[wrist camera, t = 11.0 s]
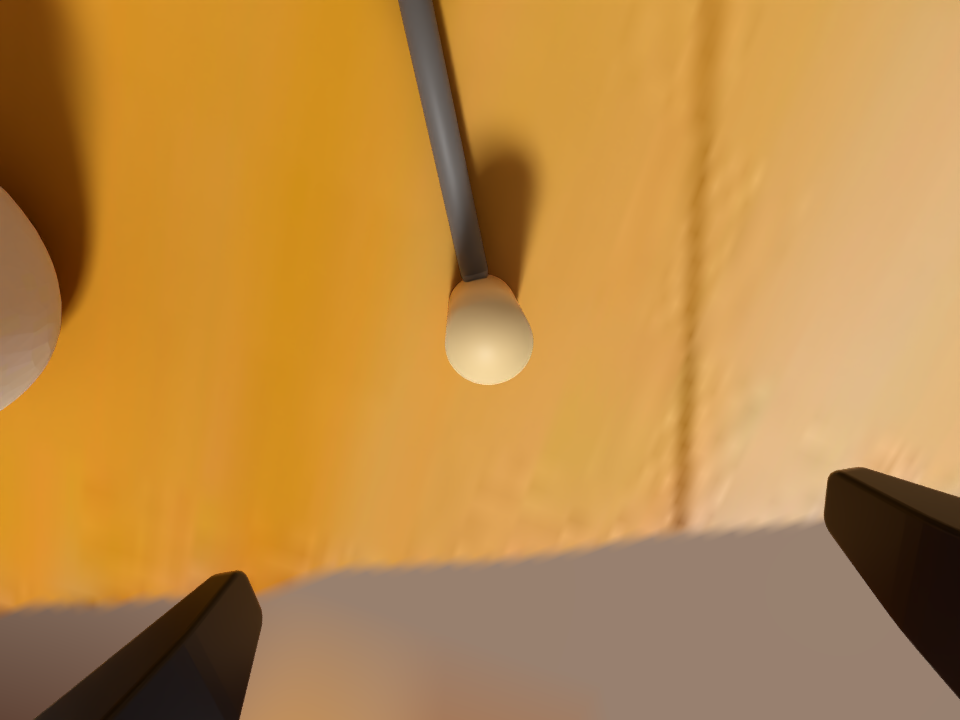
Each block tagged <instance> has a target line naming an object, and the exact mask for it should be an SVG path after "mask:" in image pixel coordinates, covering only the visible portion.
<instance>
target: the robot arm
mask: <svg viewBox="0 0 960 720" xmlns="http://www.w3.org/2000/svg"><path fill="white" fill-rule="evenodd" d="M824 520H825V524H826V527H827V529H828V531H829V532H830V534H831V535H832V537H833V538H834V539H835V541H836V542H837V543H838V545H839V546H840V548H841V549H842V550H843V552H844V553H845V554H846V556H847V557H848V559H849V560H850V561H851V563H852V564H853V565H854V567H855V568H856V570H857V571H858V572H859V574H860V575H861V576H862V578H863V579H864V581H865V582H866V584H867V585H868V586H869V588H870V589H871V590H872V592H873V593H874V595H875V596H876V597H877V599H878V600H879V602H880V603H881V604H882V605H883V607H884V608H885V610H886V611H887V612H888V614H889V615H890V617H891V618H892V619H893V620H894V622H895V623H896V624H897V626H898V627H899V628H900V629H901V631H902V632H903V633H904V634H905V636H906V637H907V638H908V639H909V641H910V642H911V643H912V644H913V645H914V647H915V648H916V649H917V650H918V651H919V653H920V654H921V655H922V656H923V657H924V658H925V659H926V660H927V662H928V663H929V664H930V665H931V666H932V668H933V669H934V670H935V671H936V672H937V673H938V675H939V676H940V677H941V678H942V679H943V680H944V682H945V683H946V684H947V685H948V686H949V687H950V689H951V690H952V691H953V692H954V693H955V694H956V696H957V697H958V698H959V699H960V497H957V496H954V495H950V494H947V493H944V492H941V491H938V490H934V489H931V488H928V487H925V486H922V485H918V484H915V483H912V482H909V481H906V480H902V479H899V478H896V477H893V476H890V475H886V474H883V473H880V472H877V471H874V470H870V469H867V468H863V467H854V468H848V469H842V470H836V471H834V472H832V473H831V474H830V475H829V477H828V480H827V489H826V498H825V507H824ZM261 627H262V610H261V607H260V605H259V602H258V600H257V598H256V596H255V593H254V591H253V589H252V586H251V584H250V582H249V580H248V577H247V576H246V574H245V573H244V572H242V571H231V572H225V573H219V574H215V575H213V576H211V577H210V578H209V579H207V580H206V581H205V582H204V583H202V584H201V585H200V586H199V587H197V588H196V589H195V590H194V591H192V592H191V593H190V594H189V595H187V596H186V597H185V598H184V599H183V600H181V601H180V602H179V603H178V604H176V605H175V606H174V607H173V608H171V609H170V610H169V611H168V612H166V613H165V614H164V615H163V616H161V617H160V618H159V619H158V620H156V621H155V622H154V623H153V624H151V625H150V626H149V627H148V628H146V629H145V630H144V631H143V632H141V633H140V634H139V635H138V636H137V637H135V638H134V639H133V640H132V641H131V642H129V643H128V644H127V645H125V646H124V647H123V648H122V649H120V650H119V651H118V652H117V653H115V654H114V655H113V656H112V657H111V658H109V659H108V660H107V661H105V662H104V663H103V664H102V665H100V667H98V668H97V669H95V670H94V671H93V672H92V673H91V674H89V675H88V676H87V677H86V678H84V679H83V680H82V681H81V682H80V683H78V684H77V685H76V686H74V687H73V688H72V689H71V690H69V691H68V692H67V693H66V694H64V695H63V696H62V697H61V698H59V699H58V700H57V701H56V702H54V703H53V704H52V705H51V706H50V707H48V708H47V709H46V710H45V711H43V712H42V713H41V714H40V715H38V716H37V717H36V718H35V719H34V720H239V719H240V715H241V710H242V707H243V702H244V698H245V694H246V690H247V686H248V681H249V677H250V673H251V669H252V665H253V661H254V656H255V652H256V648H257V644H258V640H259V635H260V631H261Z"/></svg>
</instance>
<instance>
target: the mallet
mask: <svg viewBox="0 0 960 720" xmlns="http://www.w3.org/2000/svg"><path fill="white" fill-rule="evenodd" d="M398 2H399V6H400V11H401V15H402V20H403V24H404V28H405V33H406V37H407V41H408V46H409V50H410V55H411V59H412V63H413V68H414V72H415V77H416V81H417V85H418V90H419V94H420V98H421V103H422V107H423V112H424V116H425V120H426V125H427V129H428V133H429V138H430V142H431V147H432V151H433V155H434V160H435V164H436V169H437V173H438V177H439V182H440V186H441V190H442V195H443V199H444V204H445V208H446V212H447V217H448V221H449V225H450V230H451V234H452V239H453V243H454V247H455V252H456V256H457V260H458V265H459V269H460V274H461V277H462V279H463V280H462V281H461V282H459V283H458V284H457V286H456V287H455V288H454V289H453V291H452V293H451V296H450V298H449V304H448V315H447V326H446V338H445V349H446V354H447V357H448V360H449V362H450V364H451V365H452V367H453V368H454V369H455V370H456V372H457V373H459V374H460V375H461V376H462V377H464V378H465V379H467V380H469V381H471V382H474V383H478V384H484V385H493V384H499V383H503V382H505V381H508V380H510V379H511V378H513V377H515V376H516V375H517V374H518V373H520V372H521V371H522V370H523V368H524V367H525V366H526V364H527V363H528V361H529V359H530V357H531V353H532V349H533V334H532V330H531V328H530V325H529V323H528V321H527V319H526V317H525V315H524V313H523V311H522V309H521V308H520V306H519V304H518V302H517V300H516V298H515V296H514V294H513V292H512V290H511V289H510V287H509V286H508V285H507V284H506V283H505V282H504V281H503V280H501V279H500V278H498V277H496V276H493V275H489V274H488V267H487V262H486V258H485V253H484V248H483V243H482V238H481V234H480V229H479V224H478V219H477V214H476V209H475V205H474V200H473V195H472V190H471V185H470V180H469V176H468V171H467V166H466V161H465V156H464V151H463V147H462V142H461V137H460V132H459V127H458V122H457V118H456V113H455V108H454V103H453V98H452V94H451V89H450V84H449V79H448V74H447V69H446V65H445V60H444V55H443V50H442V45H441V40H440V36H439V31H438V26H437V21H436V16H435V11H434V7H433V2H432V0H398Z"/></svg>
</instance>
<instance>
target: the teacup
mask: <svg viewBox="0 0 960 720" xmlns="http://www.w3.org/2000/svg"><path fill="white" fill-rule="evenodd" d="M61 311H62V302H61V295H60V289H59V283H58V278H57V275H56V272H55V269H54V266H53V263H52V261H51V258H50V256H49V254H48V251H47V249H46V247H45V245H44V243H43V242H42V240H41V238H40V236H39V234H38V232H37V231H36V229H35V228H34V226H33V225H32V223H31V222H30V221H29V219H28V218H27V216H26V215H25V214H24V212H23V211H22V210H21V208H20V207H19V206H18V205H17V204H16V202H15V201H14V200H13V199H12V198H11V197H10V195H9V194H8V193H7V192H6V191H5V190H4V189H3V188H2V187H1V186H0V411H1V410H2V409H4V408H5V407H6V406H8V405H9V404H10V403H12V402H13V401H14V400H16V399H17V398H18V397H19V396H20V395H21V394H23V393H24V392H25V391H26V390H27V389H28V388H29V387H30V386H31V385H32V383H33V382H34V381H35V380H36V379H37V378H38V376H39V375H40V374H41V373H42V371H43V370H44V368H45V367H46V365H47V363H48V362H49V360H50V358H51V356H52V353H53V351H54V349H55V346H56V343H57V340H58V336H59V333H60V328H61Z"/></svg>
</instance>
